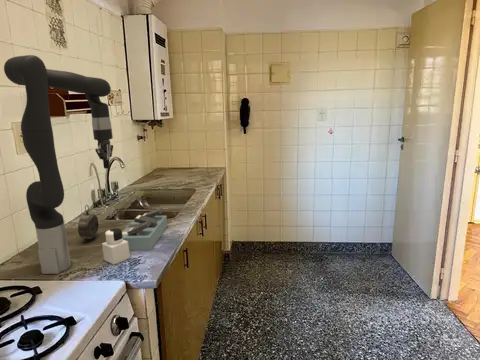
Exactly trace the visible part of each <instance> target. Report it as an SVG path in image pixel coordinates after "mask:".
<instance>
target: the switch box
mask: <svg viewBox="0 0 480 360" xmlns="http://www.w3.org/2000/svg"><path fill="white" fill-rule="evenodd" d="M150 218H155V219H158V221H157V223H156V225H155V226H149V227H148V228H146V229H144V230H141V231H139V232H137V233H134V234H132V235H130V236H129V235H128V233H127V232H128V231H129V230H130V229H131V228H133V227H135V226H137V225H140V224H141V223H137V222H134V220H133V221H132V222H131V223H129V225H127V226H126V228H124V229H123V230H122V236H123V240H125V241H128V246H129V251H151V250H153V248H154V246H155V245H156V244H157V242H158V241H159V240H160V238H161V236H162V235H163V234H164V232H165V230H166V229H167V228H168V216H167V215H156V216H153V217H150Z"/></svg>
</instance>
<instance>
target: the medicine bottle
mask: <svg viewBox="0 0 480 360" xmlns="http://www.w3.org/2000/svg"><path fill="white" fill-rule="evenodd" d="M122 232H123V230H122V229H121V228H110V229H108V230H106V231H105V232H104V234H105V242H102V243H101V245H102V246H101V247H102V254H103V255H102V256H103V260H104V261H106V262H108V263H109V264H112V265H117V264H119V263H121V262H124V261H126V260H129V259H130V258H131V257H130V250H129V246H128V241H125V240H123V236H122Z"/></svg>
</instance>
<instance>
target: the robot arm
mask: <svg viewBox="0 0 480 360" xmlns="http://www.w3.org/2000/svg"><path fill="white" fill-rule="evenodd" d="M3 71H4V74H5V76H6V78H7V79H8V80H9V81H10V82H12V83H13V84H15V85H18V86H25V93H26V103H25V108H24V112H23V114H22V118H21V122H20V132H21V137H22V138H21V139H22V143H23V147H24V149H25V151H26V152H27V154H28V155H29V157H30V159H31V161H32V162H33V164H34V165H35V167H36V169H37V172H38V176H39V180H37V181H34V182H32V183H30V184H29V185H28V187H27V189H26V194H25V196H26V197H25V199H26V203H27V208H28V212H29V217H30V219H31V220H32V222H33V224H34V228H35V233H36V238H37V245H38V250H37V251H38V258H39V262H40V269H41V274H42V275H45V274H46V275H47V274H48V275H49V274H50V275H51V274H52V275H53V274H54V275H56V274H57V275H58V274H60V273H62V272H64V271H66V270H68V269H69V268H70V267H71V266H72V262H71V257H70V251H69V250H70V249H69V245H68V237H67V233H66V226H65V221H64V216H63V214H62V213H60V212H59V211H58V210H57V208H58V207H60V206H62V204H63V202H64V199H65V190H64V189H65V188H64V185H63V181H62V177H61V173H60V170H59V165H58V160H57V159H58V158H57V152H56V148H55V146H56V145H55V137H54V132H53V131H54V130H53V126H52V121H51V111H50V102H49V88H52V89H53V88H54V89H58V90H63V91H67V92H71V93H77V94H84V95H85V97H86V100H87V103H88V104H89V105H88V106H89V107H90V111H91V112H90V113H91V126H92V133H93V140H95V141H97V148H95V153H96V154H97V156H98V158H99V160H102V163H103V168H104V169H105V170H106V169H110V168H111V162H110V159H111V158H112V156H113V151H114V145H113V144H111V140H112V139H113V129H112V121H111V117H110V108H109V104H107V103H105V102H102V100H101V98H102V97H103V98H104V97H106V96H109V95H110V93H111V91H112V87H111V85H110V83H109V82H108V81H107V80H106V79H103V78H99V77H93V76H86V75H83V74H79V73H75V72H72V71H65V70H57V69H49V68H47V67H46V65H45V63H44V61H43V60H42V59H41V58H40V57H39V56H36V55H33V54H28V55H19V56H13V57H10V58H8V59H6V61H5V63H4V66H3Z"/></svg>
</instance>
